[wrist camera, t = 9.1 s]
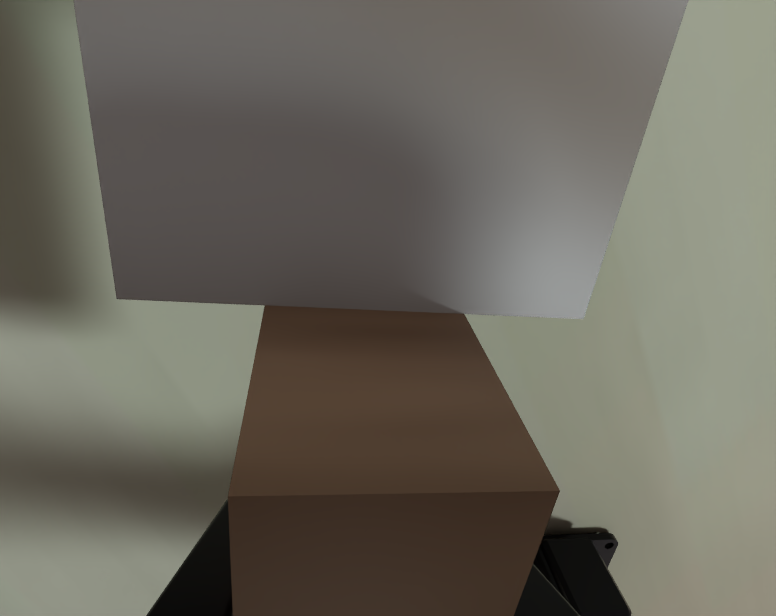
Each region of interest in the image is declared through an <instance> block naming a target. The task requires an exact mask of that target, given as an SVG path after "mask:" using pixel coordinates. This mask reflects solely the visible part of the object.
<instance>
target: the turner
mask: <svg viewBox="0 0 776 616" xmlns="http://www.w3.org/2000/svg"><path fill="white" fill-rule="evenodd" d="M687 3H688V0H74V7H75V14H76V21H77V28H78V35H79V42H80V48H81V55H82V62H83V69H84V76H85V83H86V90H87V97H88V104H89V111H90V118H91V124H92V131H93V138H94V145H95V152H96V159H97V166H98V173H99V180H100V187H101V194H102V201H103V207H104V214H105V221H106V228H107V235H108V242H109V249H110V256H111V263H112V270H113V277H114V283H115V290H116V297H117V299H129V300H152V301H176V302H199V303H222V304H245V305H265V308H264V313H263V318H262V323H261V328H260V333H259V339H258V344H257V349H256V354H255V359H254V364H253V369H252V375H251V380H250V385H249V390H248V395H247V400H246V406H245V411H244V416H243V421H242V426H241V431H240V436H239V442H238V447H237V452H236V457H235V462H234V467H233V473H232V478H231V483H230V488H229V493H228V512H229V536H230V560H231V584H232V608H233V616H514V614H515V611H516V608H517V605H518V603H519V600H520V597H521V595H522V592H523V589H524V586H525V584H526V581H527V578H528V576H529V573H530V570H531V568H532V565H533V562H534V559H535V557H536V554H537V551H538V549H539V546H540V543H541V541H542V538H543V535H544V532H545V530H546V527H547V524H548V522H549V519H550V516H551V514H552V511H553V508H554V505H555V503H556V500H557V497H558V495H559V492H560V490H559V488H558V486H557V485H556V483H555V481H554V479H553V477H552V475H551V474H550V472H549V470H548V468H547V466H546V464H545V462H544V461H543V459H542V457H541V455H540V453H539V451H538V449H537V448H536V446H535V444H534V442H533V440H532V438H531V437H530V435H529V433H528V431H527V429H526V427H525V425H524V424H523V422H522V420H521V418H520V416H519V414H518V413H517V411H516V409H515V407H514V405H513V403H512V401H511V400H510V398H509V396H508V394H507V392H506V390H505V389H504V387H503V385H502V383H501V381H500V379H499V377H498V376H497V374H496V372H495V370H494V368H493V366H492V365H491V363H490V361H489V359H488V357H487V355H486V353H485V352H484V350H483V348H482V346H481V344H480V342H479V341H478V339H477V337H476V335H475V333H474V331H473V329H472V328H471V326H470V324H469V322H468V320H467V318H466V317H465V315H464V314H479V315H502V316H525V317H549V318H572V319H584V316H585V313H586V310H587V307H588V304H589V301H590V298H591V295H592V292H593V289H594V286H595V283H596V280H597V277H598V273H599V270H600V267H601V264H602V261H603V258H604V255H605V252H606V249H607V246H608V243H609V240H610V237H611V234H612V231H613V228H614V225H615V222H616V219H617V216H618V213H619V210H620V207H621V204H622V201H623V198H624V195H625V191H626V188H627V185H628V182H629V179H630V176H631V173H632V170H633V167H634V164H635V161H636V158H637V155H638V152H639V149H640V146H641V143H642V140H643V137H644V134H645V131H646V128H647V125H648V122H649V119H650V116H651V112H652V109H653V106H654V103H655V100H656V97H657V94H658V91H659V88H660V85H661V82H662V79H663V76H664V73H665V70H666V67H667V64H668V61H669V58H670V55H671V52H672V49H673V46H674V43H675V40H676V37H677V34H678V30H679V27H680V24H681V21H682V18H683V15H684V12H685V9H686V6H687Z"/></svg>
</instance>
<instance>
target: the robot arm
mask: <svg viewBox="0 0 776 616" xmlns="http://www.w3.org/2000/svg"><path fill="white" fill-rule="evenodd" d="M617 546H618V542H617V540H616V538H615V537H614V535H613V534H611V533H599V534H574V535H548V536H543V538H542V541H541V543H540V546H539V549H538V551H537V554H536V557H535V559H534V562H533V565H532V568H531V570H530V573H529V576H528V578H527V581H526V584H525V586H524V589H523V592H522V595H521V597H520V600H519V603H518V605H517V608H516V611H515V614H514V616H631V610H630V608H629V606H628V604H627V602H626V601H625V599H624V597H623V595H622V593H621V592H620V590H619V588H618V586H617V584H616V583H615V581H614V579H613V577H612V575H611V574H610V572H609V570H608V565H609V563H610V561H611V559H612V557H613V554H614V552H615V550H616V548H617ZM146 616H233V608H232V584H231V560H230V536H229V512H228V499H227V501H226V502H225V504H224V505H223V506H222V508H221V509H220V511H219V512H218V514H217V515H216V517H215V518H214V519H213V521H212V522H211V524H210V525H209V527H208V528H207V529H206V531H205V532H204V534H203V535H202V537H201V538H200V539H199V541H198V542H197V544H196V545H195V547H194V548H193V549H192V551H191V552H190V554H189V555H188V557H187V558H186V559H185V561H184V562H183V564H182V565H181V567H180V568H179V569H178V571H177V572H176V574H175V575H174V577H173V578H172V580H171V581H170V582H169V584H168V585H167V587H166V588H165V590H164V591H163V592H162V594H161V595H160V597H159V598H158V600H157V601H156V602H155V604H154V605H153V607H152V608H151V610H150V611H149V612H148V614H147V615H146Z"/></svg>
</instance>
